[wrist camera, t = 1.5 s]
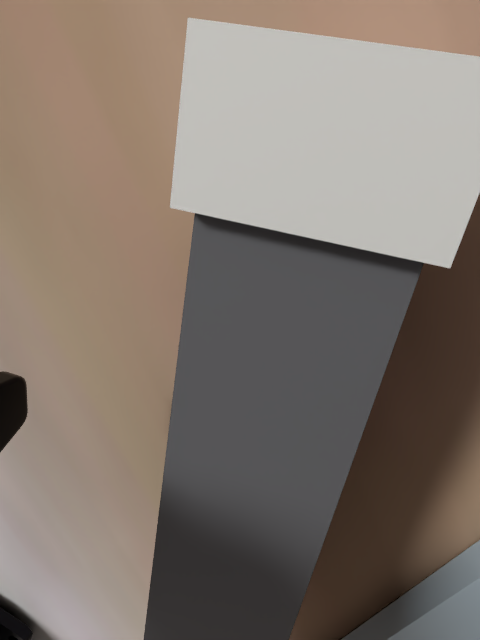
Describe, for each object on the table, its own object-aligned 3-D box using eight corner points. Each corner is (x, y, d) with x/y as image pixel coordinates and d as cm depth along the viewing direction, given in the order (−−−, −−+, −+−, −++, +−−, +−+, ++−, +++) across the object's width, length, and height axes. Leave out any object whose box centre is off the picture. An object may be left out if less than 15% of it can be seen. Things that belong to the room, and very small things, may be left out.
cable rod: (292, 578, 12) (272, 727, 9) (182, 539, 12) (125, 665, 9) (449, 107, 7) (530, 62, 4) (255, 76, 7) (187, 16, 4)
